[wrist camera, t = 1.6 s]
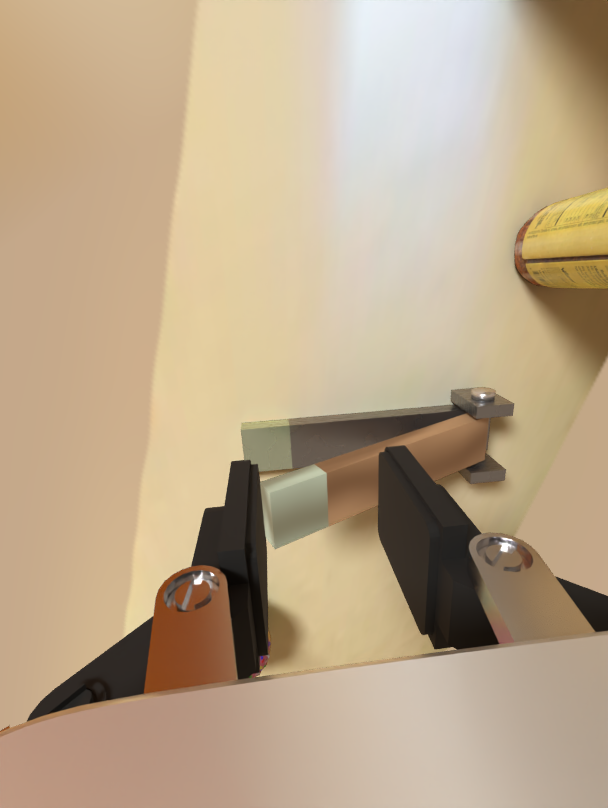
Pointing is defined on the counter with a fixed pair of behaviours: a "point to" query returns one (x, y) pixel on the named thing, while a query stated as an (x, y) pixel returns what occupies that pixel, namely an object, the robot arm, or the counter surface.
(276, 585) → the counter surface
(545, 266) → the sauce bottle
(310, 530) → the bar
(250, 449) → the base
